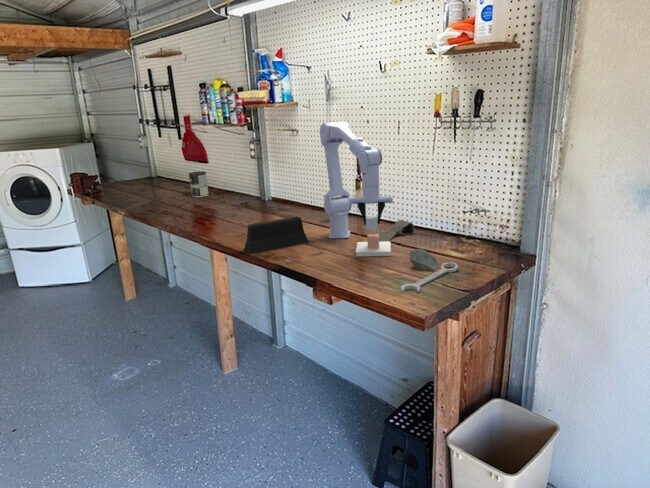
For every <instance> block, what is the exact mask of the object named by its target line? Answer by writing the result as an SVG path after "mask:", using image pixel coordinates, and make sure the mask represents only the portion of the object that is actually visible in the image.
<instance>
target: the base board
mask: <svg viewBox="0 0 650 488" xmlns="http://www.w3.org/2000/svg"><path fill="white" fill-rule="evenodd" d="M391 247H392V245H391V241H390V240H389V241H383V242H379V249H368V243H367V241H357V242H356V248H355V257H391V256H392V248H391Z"/></svg>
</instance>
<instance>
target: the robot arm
mask: <svg viewBox="0 0 650 488" xmlns="http://www.w3.org/2000/svg"><path fill="white" fill-rule="evenodd" d="M319 137H320V142H321V146H322V147H324V154H325V155H324V156H325V162H326V170H327V177H328V185H329V190H328V191H327V192H326V193H325V195H324V196H323V199H324V200H323V201H324V203H323V209H324V212H325V213H326V214H327V215H328V216H329V234H328V239H348V238H349V237H350V234H351V230H349V219H348V218H349V217H348V214H350V211H351V210H352V208H353V205H357V208H358V210H359V212H360V214H361V217H362V220H363V224H364V226H366V216H367V212H366V205H368V204H377V216H378V225H380V224H381V217H382V213H383V211H384V209H385V206H386V204H393V203H394V202H393V201H394V199H393V196H381V195H380V165H382V163H383V153H382V152H381V150H380V149H379V148H378V147H375V148H374V147H372V146H371V145H369V144H368V142H366V141H365V140H364V138H363V137H357V136H355V134H354V133H353V132H352V131H351V127H350V124H349V123H348V122H347V121H346V120H341V121H334V122H322V124H321V125H320V129H319ZM343 143H346V145H348V146H349V151H350V152H351V153H352V154H353V155H354V156H355V158H357V160H358V161H357V162H358V165H359V167H360V168H359V170H360V172H361V179H362V180H361V181H362V196H360V197H351V196H350V193H349V191H347V190H346V189H345V188H344V187H343V179H342V172H341V171H342V170H341V163H340V156H339V147H340V145H342V144H343Z"/></svg>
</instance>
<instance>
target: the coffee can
mask: <svg viewBox="0 0 650 488" xmlns="http://www.w3.org/2000/svg"><path fill="white" fill-rule="evenodd" d="M188 178H189V185H190V191H191V192H190V193H191V197H192V198H203V197H204V196H205V197H208V196H209V194H210V193H209V187H208V180H207V172H206V171H192V172H188ZM205 197H204V198H205Z"/></svg>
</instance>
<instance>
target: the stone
mask: <svg viewBox="0 0 650 488" xmlns="http://www.w3.org/2000/svg"><path fill="white" fill-rule="evenodd" d="M408 256H409V261H410V263H412V264H413V266H415V268H416V269H417V270H423V271H431V272H437V271H438V268H439V263H438V261H437V260H436V258H435V257H434V256H433V255H432V254H430V253H429V252H428V250H427V251H426V250H425V249H422V248H421V249H420V248H417V249H413V250H410V252H409V254H408Z"/></svg>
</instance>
